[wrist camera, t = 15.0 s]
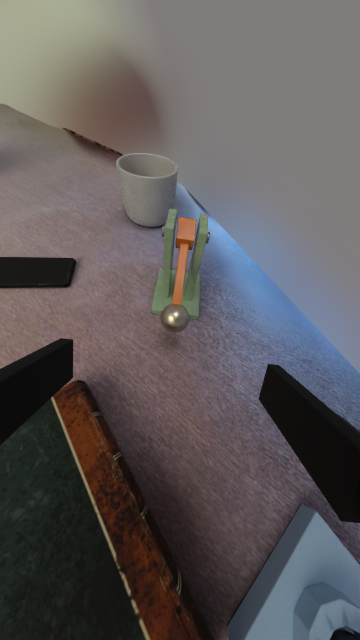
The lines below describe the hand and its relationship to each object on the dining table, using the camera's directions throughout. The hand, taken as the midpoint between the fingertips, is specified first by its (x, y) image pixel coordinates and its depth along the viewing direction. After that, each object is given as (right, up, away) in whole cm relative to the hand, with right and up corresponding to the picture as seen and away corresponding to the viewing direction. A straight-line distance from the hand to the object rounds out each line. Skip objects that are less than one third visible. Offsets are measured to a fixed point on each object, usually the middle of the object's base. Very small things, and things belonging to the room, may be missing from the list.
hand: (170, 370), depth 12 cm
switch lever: (+1, +9, +12) cm, 15 cm away
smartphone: (-27, +12, +20) cm, 35 cm away
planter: (-7, +29, +34) cm, 45 cm away
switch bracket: (0, +8, +21) cm, 23 cm away
